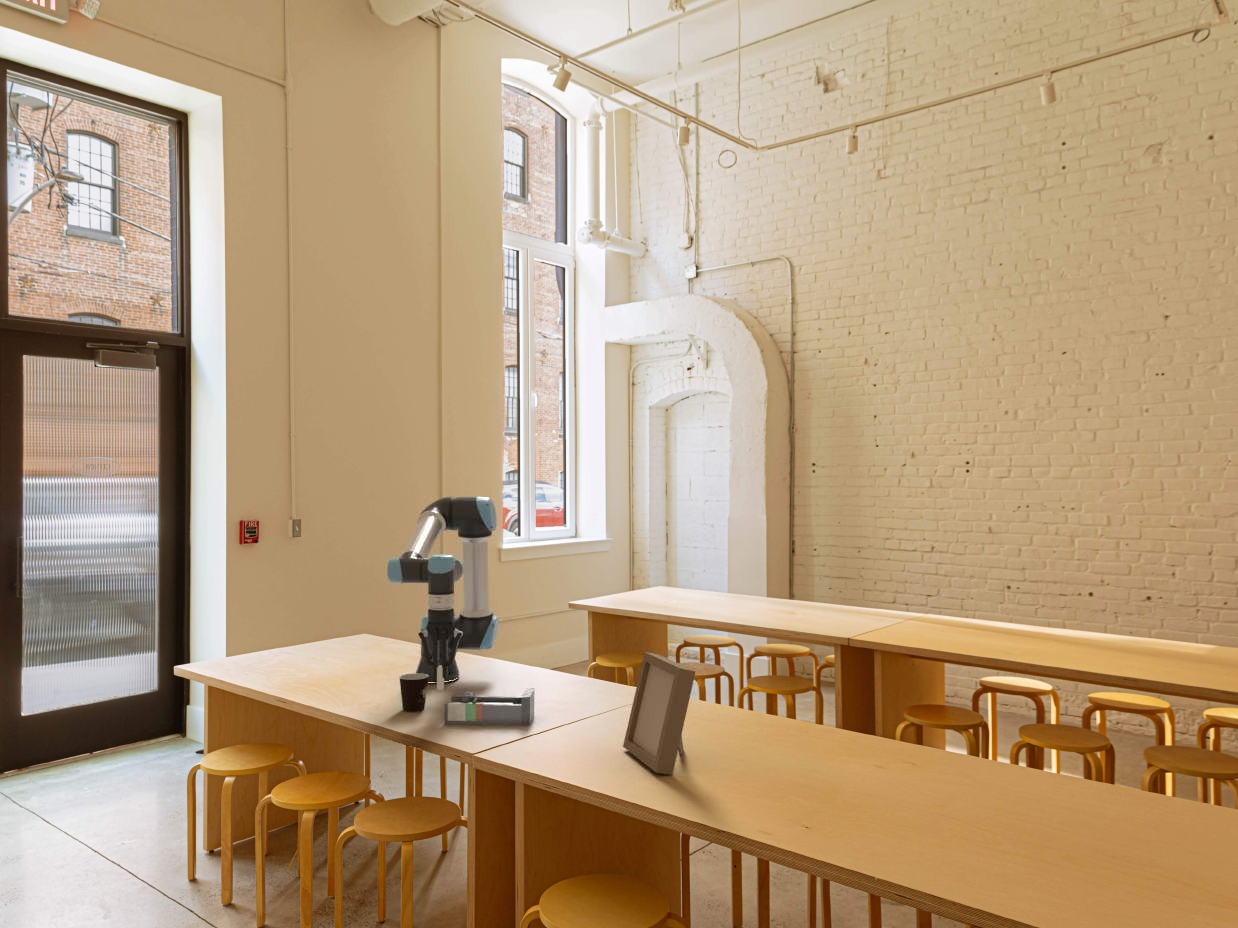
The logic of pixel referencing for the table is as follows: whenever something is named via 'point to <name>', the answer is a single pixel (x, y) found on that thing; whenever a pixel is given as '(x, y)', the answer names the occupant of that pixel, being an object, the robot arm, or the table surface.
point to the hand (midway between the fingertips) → (440, 688)
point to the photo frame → (659, 712)
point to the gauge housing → (491, 710)
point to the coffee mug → (413, 691)
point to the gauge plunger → (468, 698)
